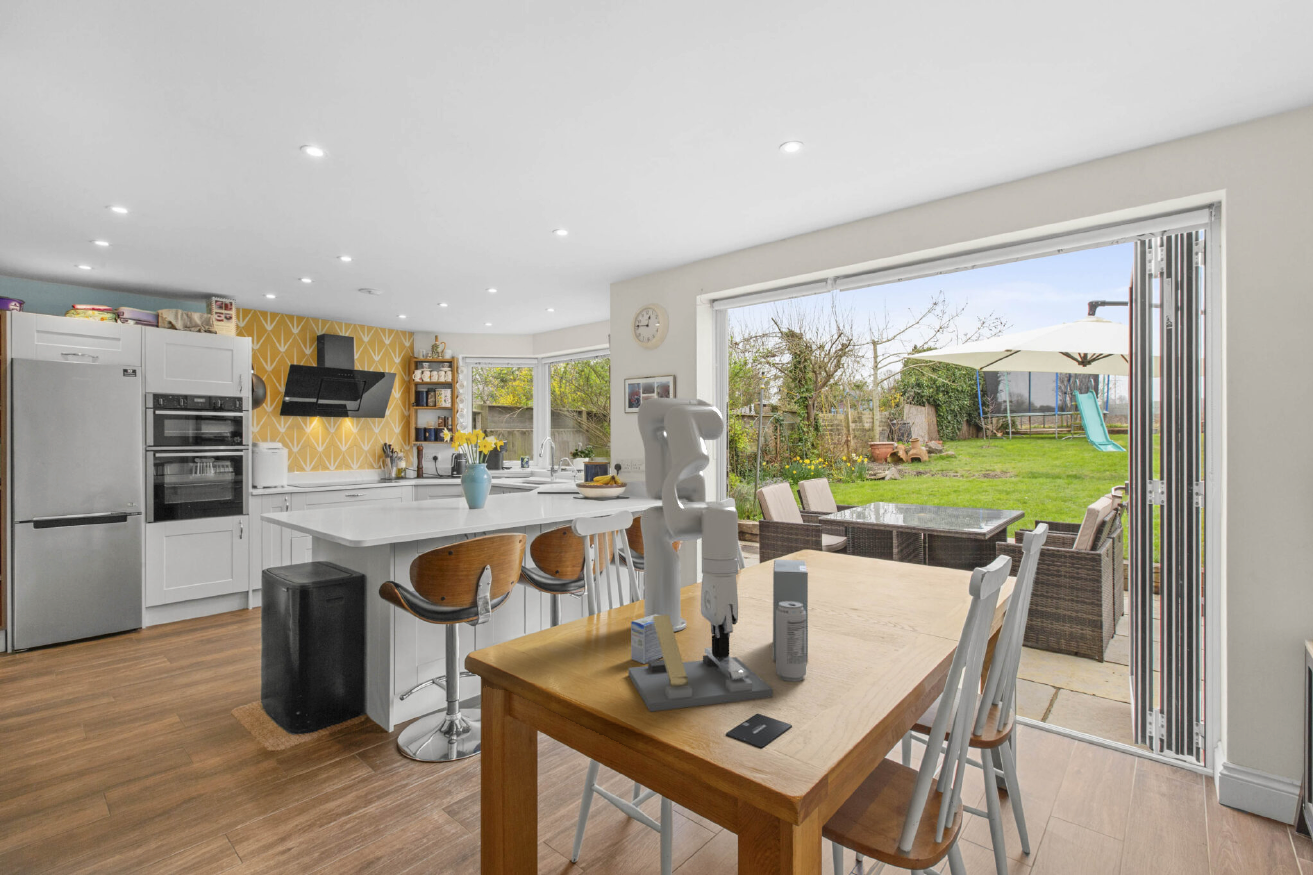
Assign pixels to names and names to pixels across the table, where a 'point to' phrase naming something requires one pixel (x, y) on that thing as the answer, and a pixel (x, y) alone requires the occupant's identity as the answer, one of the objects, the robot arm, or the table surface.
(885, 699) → the table surface
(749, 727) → the solid state drive
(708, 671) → the board
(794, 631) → the energy drink can
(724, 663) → the steel strap
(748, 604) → the table surface
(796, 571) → the hard drive box
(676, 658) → the brass strap
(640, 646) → the medicine box
